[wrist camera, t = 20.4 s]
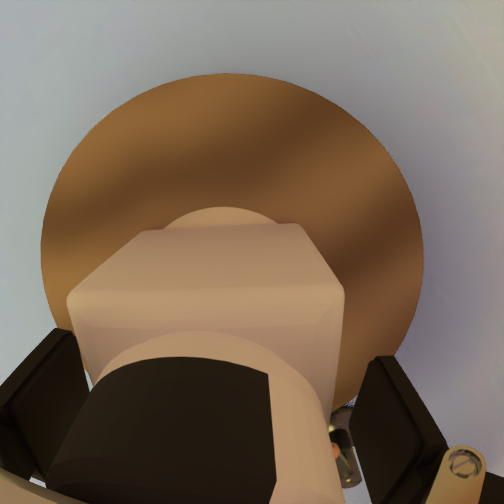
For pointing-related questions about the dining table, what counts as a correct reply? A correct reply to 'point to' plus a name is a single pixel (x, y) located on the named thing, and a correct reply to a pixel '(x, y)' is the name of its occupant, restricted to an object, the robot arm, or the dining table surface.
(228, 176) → the disc
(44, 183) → the dining table surface
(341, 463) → the joystick
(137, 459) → the medicine bottle
